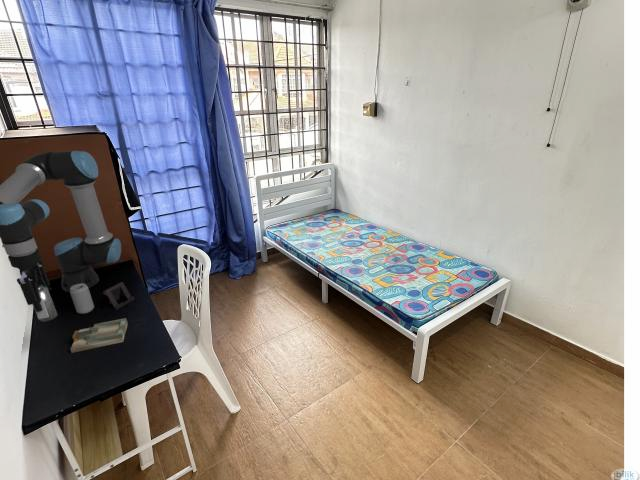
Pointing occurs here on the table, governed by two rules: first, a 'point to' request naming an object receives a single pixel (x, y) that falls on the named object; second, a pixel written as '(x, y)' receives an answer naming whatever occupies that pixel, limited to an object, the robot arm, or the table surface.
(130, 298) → the dark hollow square block
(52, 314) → the metal bottle
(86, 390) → the table surface
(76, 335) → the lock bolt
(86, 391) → the table surface
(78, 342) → the dock mount
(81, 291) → the beverage can
